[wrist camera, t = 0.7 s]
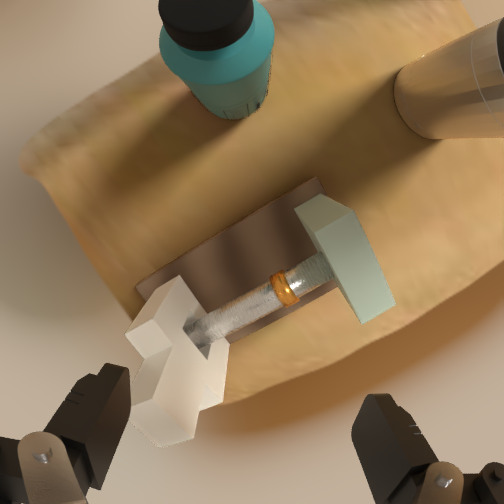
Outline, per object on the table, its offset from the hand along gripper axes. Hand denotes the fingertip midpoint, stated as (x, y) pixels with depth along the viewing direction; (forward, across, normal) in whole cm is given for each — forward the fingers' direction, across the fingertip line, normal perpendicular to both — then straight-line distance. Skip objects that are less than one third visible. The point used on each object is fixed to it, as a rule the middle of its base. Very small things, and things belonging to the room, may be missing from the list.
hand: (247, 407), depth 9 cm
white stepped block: (+21, +4, +7) cm, 23 cm away
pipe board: (+24, -1, +3) cm, 24 cm away
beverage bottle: (+24, +4, -15) cm, 28 cm away
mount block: (+22, -8, -3) cm, 24 cm away
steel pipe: (+18, -1, +3) cm, 18 cm away
